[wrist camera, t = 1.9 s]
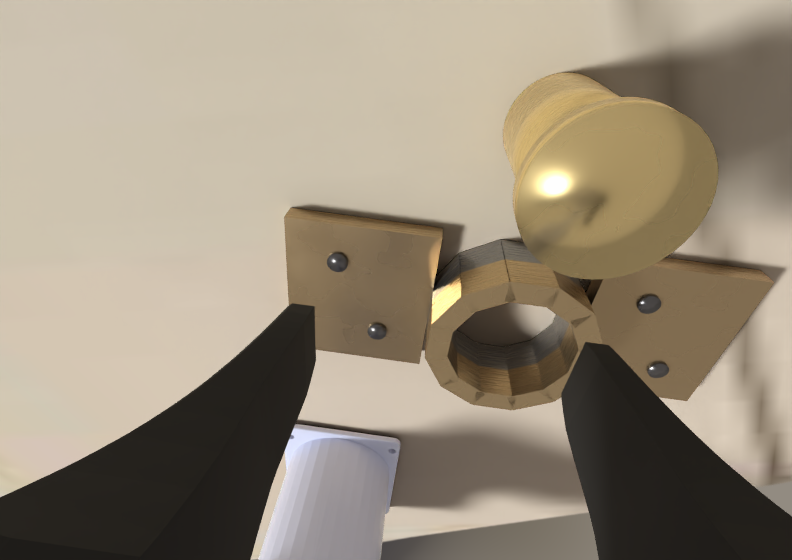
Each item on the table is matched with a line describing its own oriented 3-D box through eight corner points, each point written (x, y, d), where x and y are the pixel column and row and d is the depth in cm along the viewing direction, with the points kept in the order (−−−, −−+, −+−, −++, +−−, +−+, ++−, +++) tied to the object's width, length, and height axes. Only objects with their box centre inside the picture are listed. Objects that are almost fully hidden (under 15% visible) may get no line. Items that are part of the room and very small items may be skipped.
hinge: (678, 387, 24) (709, 440, 22) (296, 334, 25) (276, 379, 22) (760, 270, 20) (814, 318, 17) (290, 207, 20) (265, 244, 17)
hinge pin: (596, 195, 19) (663, 290, 13) (481, 180, 19) (498, 267, 13) (645, 69, 16) (760, 118, 10) (510, 52, 16) (547, 91, 10)
